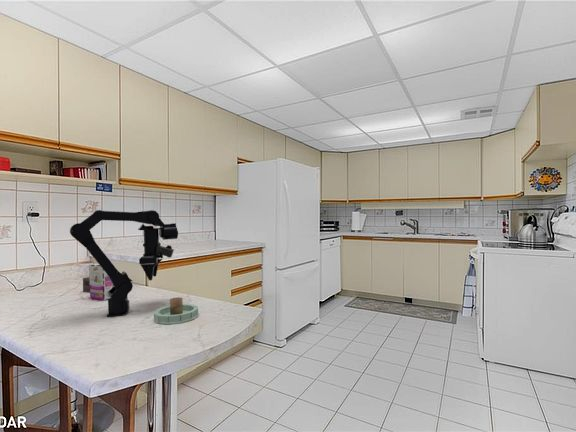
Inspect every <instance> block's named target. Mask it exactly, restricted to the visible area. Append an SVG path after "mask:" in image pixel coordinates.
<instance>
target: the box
mask: <svg viewBox="0 0 576 432" xmlns="http://www.w3.org/2000/svg"><path fill="white" fill-rule="evenodd" d="M82 292H83V293H90V276H88V277H82Z"/></svg>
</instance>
